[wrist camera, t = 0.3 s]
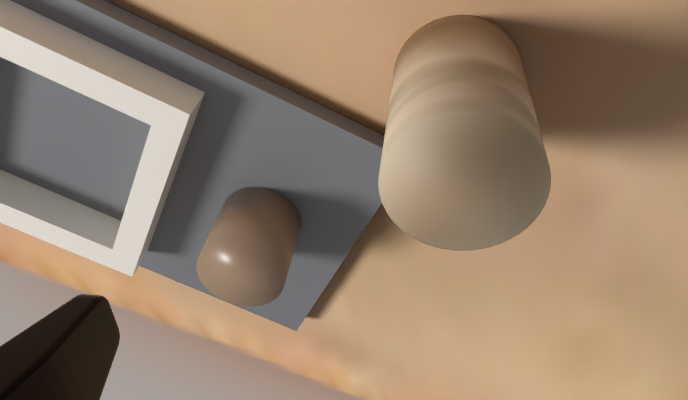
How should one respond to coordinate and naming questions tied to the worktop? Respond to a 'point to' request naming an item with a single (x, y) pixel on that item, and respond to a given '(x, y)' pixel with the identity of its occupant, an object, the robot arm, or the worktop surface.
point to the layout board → (175, 159)
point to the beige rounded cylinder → (462, 138)
